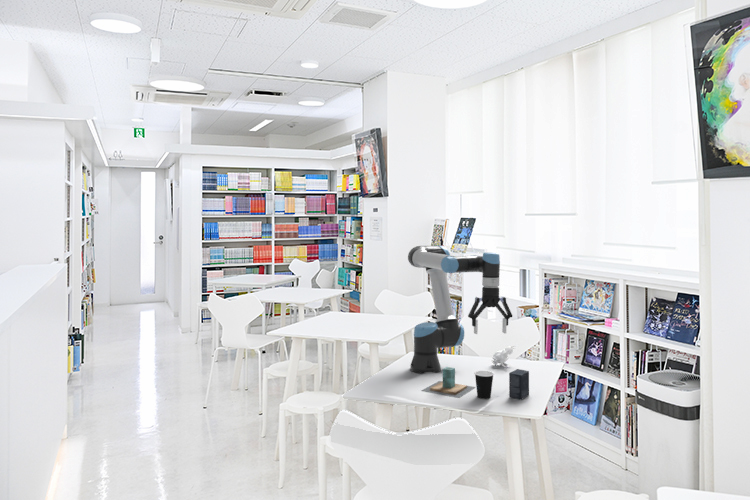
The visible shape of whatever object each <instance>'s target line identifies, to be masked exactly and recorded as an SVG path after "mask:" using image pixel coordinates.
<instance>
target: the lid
mask: <svg viewBox="0 0 750 500" xmlns="http://www.w3.org/2000/svg"><path fill="white" fill-rule="evenodd" d="M441 381H442V382H440V383H438V384H436V385H435V386H433V387H431V388H430V390H432V391H437V392H443V393H448V394H454V395H456V394H458V393H459V392H461V391H463V390H464V389H466V388H467V386H468V385H466V384H462V383H461V384H459V383H456V368H455V367H448V366H446V367H444V368H442V380H441Z"/></svg>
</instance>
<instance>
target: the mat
mask: <svg viewBox="0 0 750 500" xmlns="http://www.w3.org/2000/svg"><path fill="white" fill-rule="evenodd" d="M442 381H443V380H438V381H436V382H435V383H434V382H433V384H431V385H429V386H427V387H426V388H423V389H420V391H421V392H424V393H430V394H434V395H435V394H436V395H441V396H446V397H452V398H457V399H460V398H462V397H463V396H465V395H466V394H468V393H470V392H471V391H473V390H474V389H477V387H476V386H472V385H467V388H466V389H464V390H463V391H461V392H459V393H458V394H456V395H454V394H448V393H443V392H437V391H432V390H430V388H431V387H433V386H435V385H436V384H438V383H440V382H442Z"/></svg>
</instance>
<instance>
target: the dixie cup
mask: <svg viewBox="0 0 750 500" xmlns="http://www.w3.org/2000/svg"><path fill="white" fill-rule="evenodd" d="M494 375H495V374H494V372H492V371H489V370H477V371H474V376H475V387H476V395H477V398H479V399H482V400H487V399H490V398H491V395H492V389H493V388H492V387H493V380H494Z"/></svg>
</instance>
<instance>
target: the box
mask: <svg viewBox="0 0 750 500" xmlns="http://www.w3.org/2000/svg"><path fill="white" fill-rule="evenodd" d="M508 375H509V379H508V382H509V383H508V384H509V387H508V388H509V389H508V390H509V392H508V393H509V394H508V395H509V398H511V399H515V400H516V399H517V400H523V399H525V398H527V397H528V396H530V370H527V369H526V370H525V369H519V368H516V369H515V370H513V371H511V372H509V374H508Z"/></svg>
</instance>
